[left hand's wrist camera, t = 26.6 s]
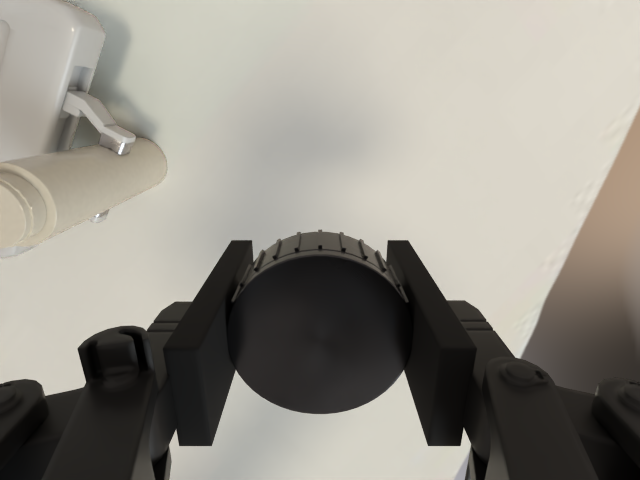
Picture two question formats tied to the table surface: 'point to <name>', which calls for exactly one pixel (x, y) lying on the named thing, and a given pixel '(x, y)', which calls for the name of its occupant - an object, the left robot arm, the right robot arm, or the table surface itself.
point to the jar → (71, 188)
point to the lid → (319, 324)
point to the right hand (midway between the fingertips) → (117, 180)
